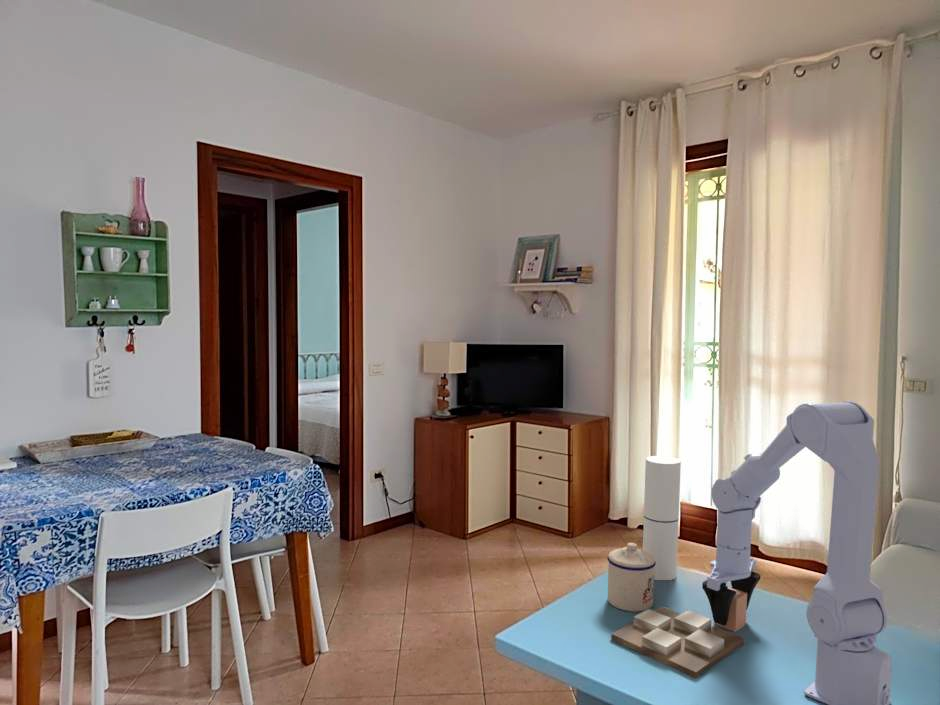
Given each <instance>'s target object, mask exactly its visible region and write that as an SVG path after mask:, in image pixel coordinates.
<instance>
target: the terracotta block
mask: <svg viewBox="0 0 940 705" xmlns="http://www.w3.org/2000/svg"><path fill="white" fill-rule="evenodd" d="M728 589H731V590H734V591H736V592H737V593H736V594H735V596H734V598H733V600H732V603H731V606H730V610H729V617H728V621H727V624H726V625H725V626H723V625H721V624H718V623H715V622H714V621H713V622H714V624H713V625H716V626H718V625H719V627H722V628H724V629H727V630H729V631H731V630H732V632H734V633H736V632H737V630H738V631H740V629H742V628H743V627H745V626H747V625H746V624H747V611H746V608H747V593H745V592H742V591H739V590H736V589H733V588H732V587H729V586H728ZM747 609H748V608H747ZM744 625H745V626H744Z"/></svg>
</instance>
